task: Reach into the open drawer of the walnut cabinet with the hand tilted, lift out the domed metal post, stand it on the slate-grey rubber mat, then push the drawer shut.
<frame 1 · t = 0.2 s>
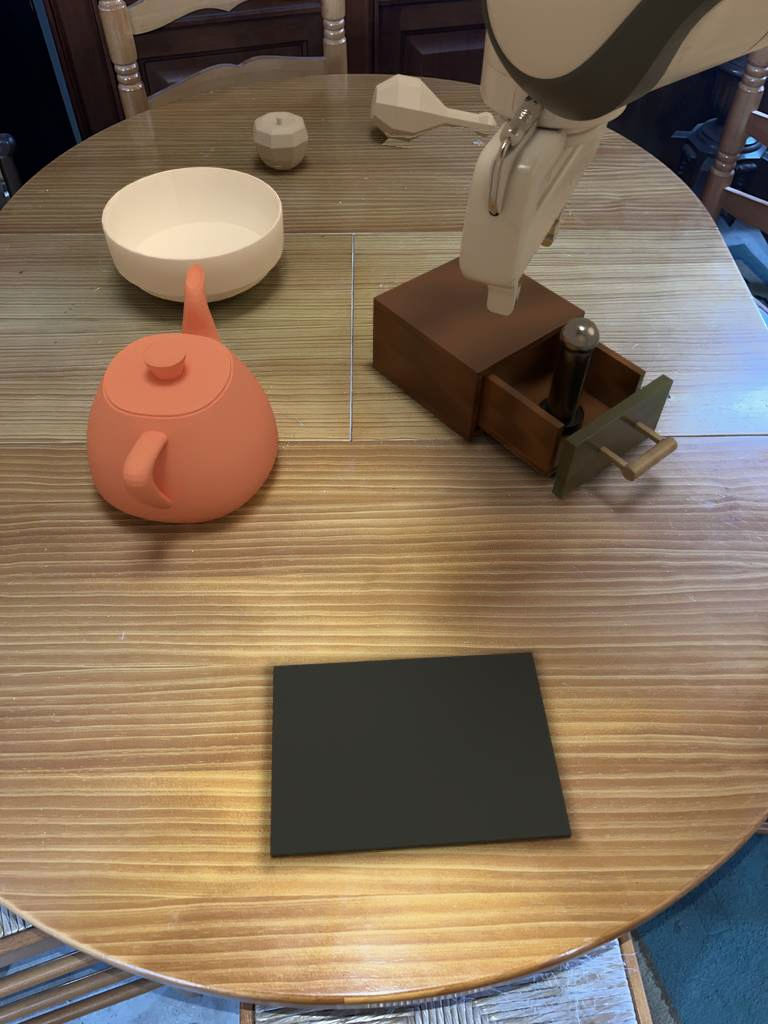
hand: (523, 272, 58), 22 cm above the table, tool pointing down, fingers open, 8 cm apart
apple: (282, 166, 114), on the table
drawer: (578, 412, 76), point 4 cm above the table, slide at 10.0 cm, touching domed metal post
teapot: (192, 460, 77), on the table
chicken leg: (432, 137, 121), on the table
cabinet: (470, 373, 86), on the table
bowl: (204, 278, 96), on the table
mat: (412, 748, 59), on the table
domed metal post: (558, 420, 78), point 2 cm above the table, touching drawer
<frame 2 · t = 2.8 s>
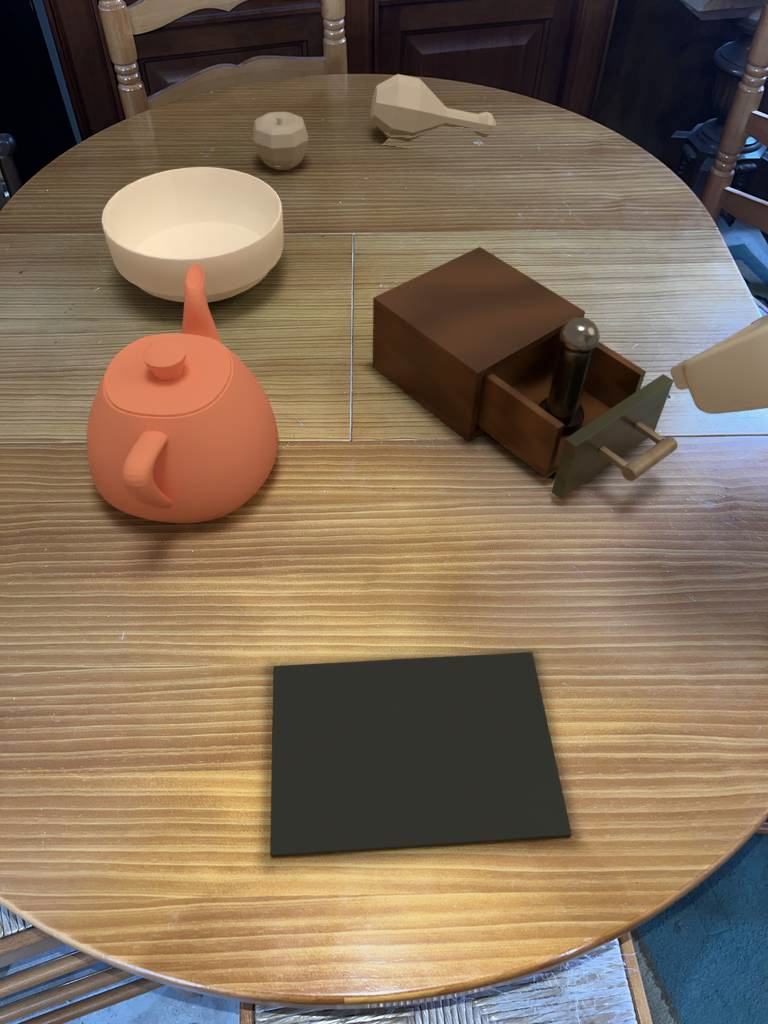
hand: (719, 352, 61), 17 cm above the table, tool tilted 45°, fingers open, 8 cm apart
nothing on the table moved.
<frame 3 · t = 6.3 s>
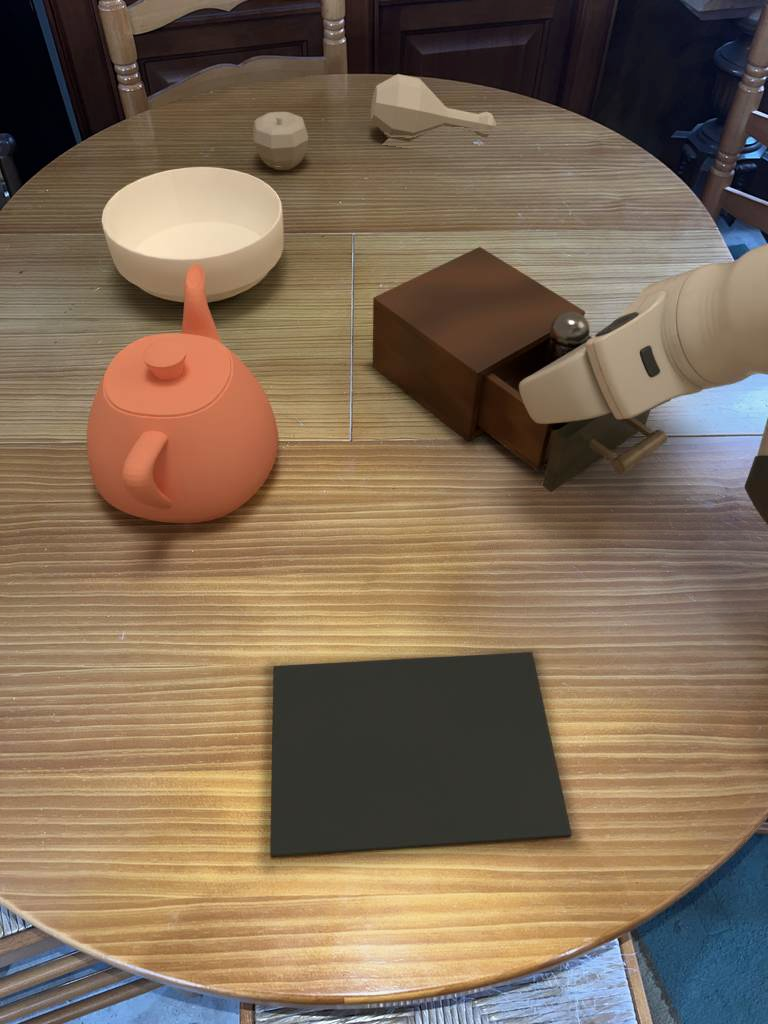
hand: (562, 366, 74), 8 cm above the table, tool tilted 45°
drawer: (569, 406, 76), point 4 cm above the table, slide at 8.9 cm, touching gripper, domed metal post
domed metal post: (550, 414, 79), point 2 cm above the table, touching drawer
everything else where it was.
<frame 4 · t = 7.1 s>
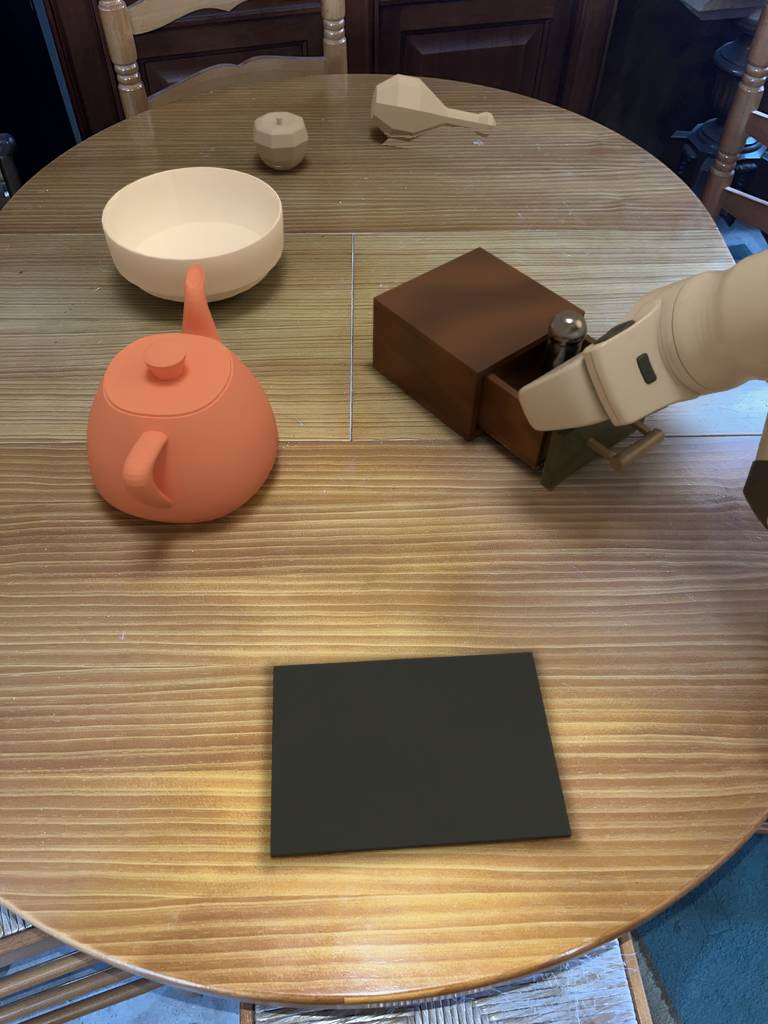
hand: (562, 374, 75), 7 cm above the table, tool tilted 45°, fingers closed on domed metal post, 3 cm apart
drawer: (567, 404, 76), point 4 cm above the table, slide at 8.6 cm, touching domed metal post
domed metal post: (548, 412, 79), point 2 cm above the table, touching drawer, gripper
everything else where it was.
when the fingers open (6 cm above the table, at t = 17.2 s): domed metal post stays where it is, resting on mat.
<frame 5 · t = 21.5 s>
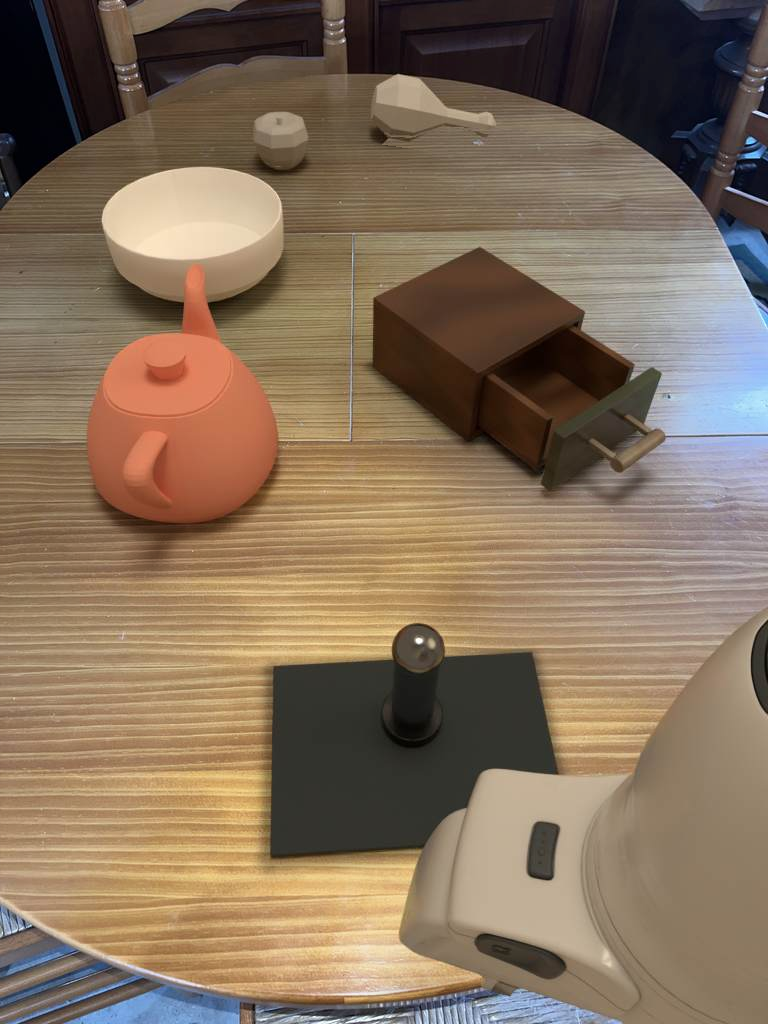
hand: (591, 1006, 40), 10 cm above the table, tool pointing down, fingers open, 8 cm apart
drawer: (567, 405, 76), point 4 cm above the table, slide at 8.7 cm
domed metal post: (411, 719, 59), point 1 cm above the table, touching mat
everything else where it was.
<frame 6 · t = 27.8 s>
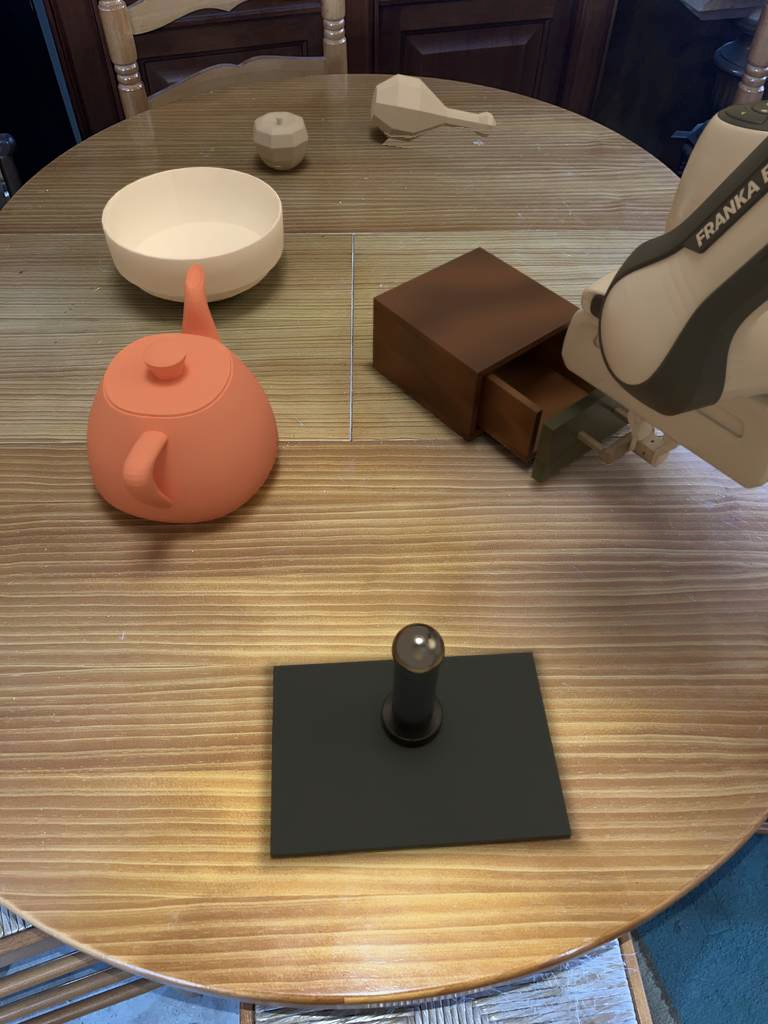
hand: (646, 455, 71), 5 cm above the table, tool pointing down, fingers closed
drawer: (558, 398, 77), point 4 cm above the table, slide at 7.5 cm, touching gripper
everything else where it was.
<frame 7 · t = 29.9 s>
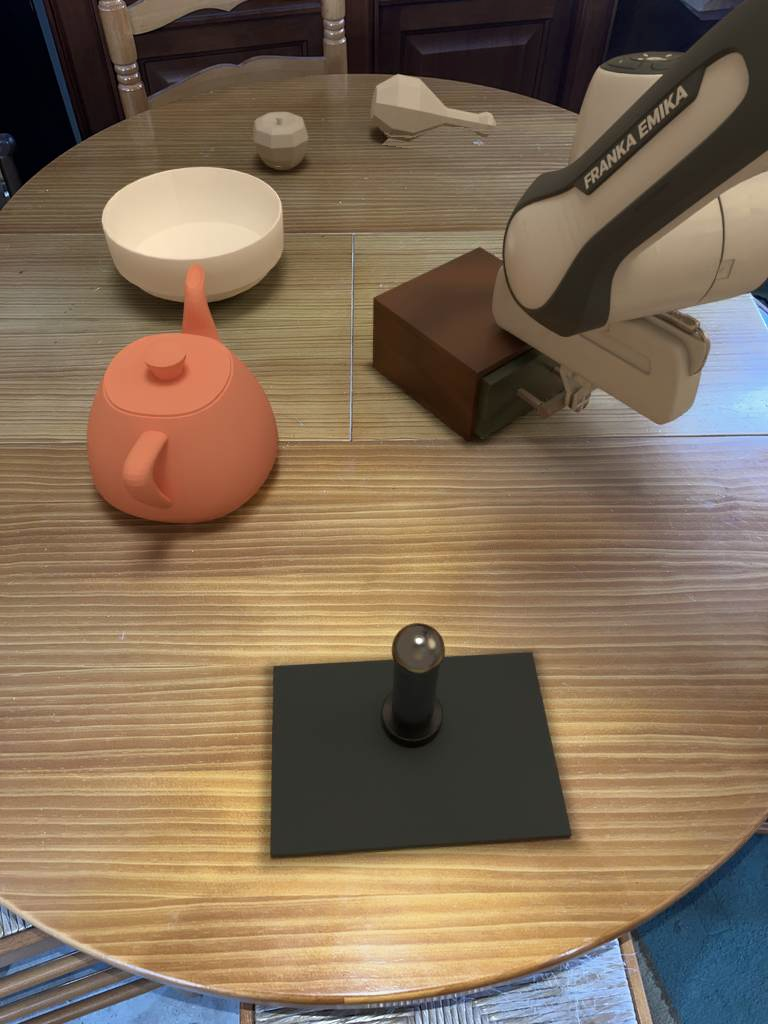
hand: (574, 406, 76), 5 cm above the table, tool pointing down, fingers closed, pressing on drawer
drawer: (501, 359, 81), point 4 cm above the table, slide at 0.0 cm, touching cabinet, gripper
everything else where it was.
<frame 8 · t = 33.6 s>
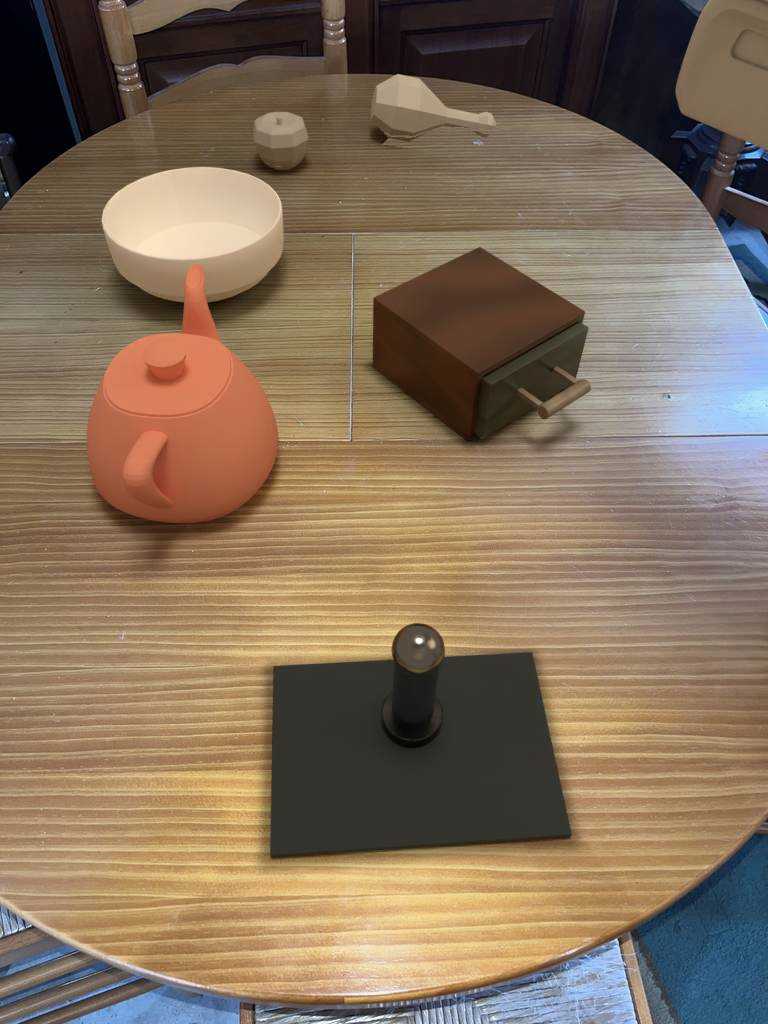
drawer: (501, 359, 81), point 4 cm above the table, slide at 0.0 cm, touching cabinet
everything else where it was.
at the end: domed metal post inside the target area on the mat (1.9 cm from its centre), point 0.6 cm above the mat's base; domed metal post tilted 0°; drawer slide at 0.0 cm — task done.
